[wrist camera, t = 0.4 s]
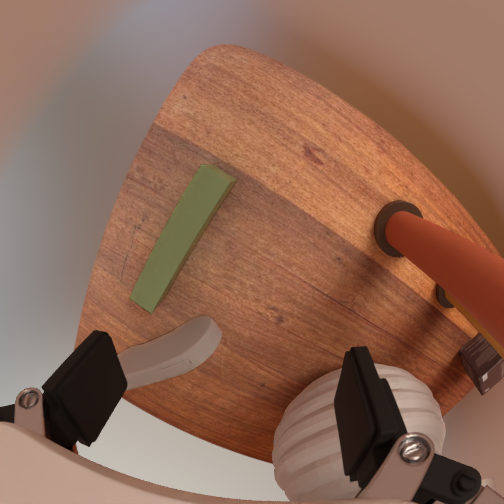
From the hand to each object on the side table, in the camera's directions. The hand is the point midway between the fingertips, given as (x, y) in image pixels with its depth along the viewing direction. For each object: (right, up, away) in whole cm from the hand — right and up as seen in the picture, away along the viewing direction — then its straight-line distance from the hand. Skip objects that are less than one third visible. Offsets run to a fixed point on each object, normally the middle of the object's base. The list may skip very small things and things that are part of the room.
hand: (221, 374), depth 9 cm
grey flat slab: (-10, -7, +23) cm, 27 cm away
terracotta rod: (+17, +7, +16) cm, 24 cm away
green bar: (-6, +6, +19) cm, 21 cm away
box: (+37, -11, +20) cm, 43 cm away
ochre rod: (+27, 0, +17) cm, 32 cm away
